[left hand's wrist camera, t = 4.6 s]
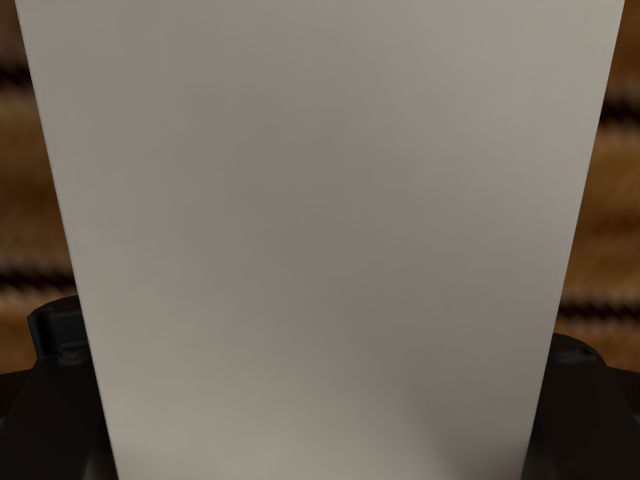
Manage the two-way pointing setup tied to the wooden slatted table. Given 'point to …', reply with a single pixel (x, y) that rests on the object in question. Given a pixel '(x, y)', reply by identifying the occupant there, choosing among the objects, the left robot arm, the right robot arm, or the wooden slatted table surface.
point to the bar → (319, 223)
